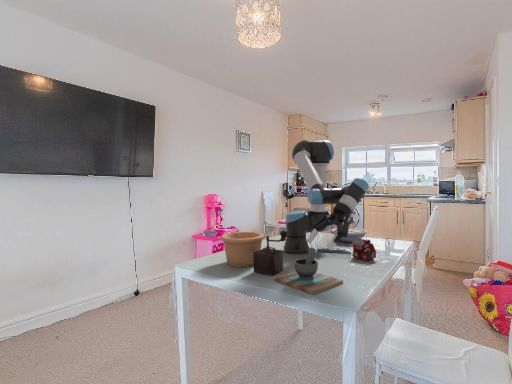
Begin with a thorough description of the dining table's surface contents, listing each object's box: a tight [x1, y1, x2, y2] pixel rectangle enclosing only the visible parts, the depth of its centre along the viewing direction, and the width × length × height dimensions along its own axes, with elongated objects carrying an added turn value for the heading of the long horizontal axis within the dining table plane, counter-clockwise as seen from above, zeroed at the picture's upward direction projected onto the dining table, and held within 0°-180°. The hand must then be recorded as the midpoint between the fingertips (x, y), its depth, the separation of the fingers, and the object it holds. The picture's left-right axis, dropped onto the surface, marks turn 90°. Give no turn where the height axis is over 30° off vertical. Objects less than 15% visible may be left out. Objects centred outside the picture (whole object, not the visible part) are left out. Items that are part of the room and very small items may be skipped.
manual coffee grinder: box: [253, 230, 288, 277], centre depth 141 cm, size 16×11×18 cm
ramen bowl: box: [331, 226, 368, 243], centre depth 201 cm, size 25×23×8 cm
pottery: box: [220, 231, 265, 268], centre depth 154 cm, size 22×22×14 cm
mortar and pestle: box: [293, 247, 319, 281], centre depth 124 cm, size 11×9×12 cm
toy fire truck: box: [352, 238, 377, 262], centre depth 156 cm, size 7×12×10 cm, turn 42°
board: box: [272, 270, 344, 295], centre depth 124 cm, size 22×18×1 cm
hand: (318, 245), depth 127 cm, fingers open, 13 cm apart
